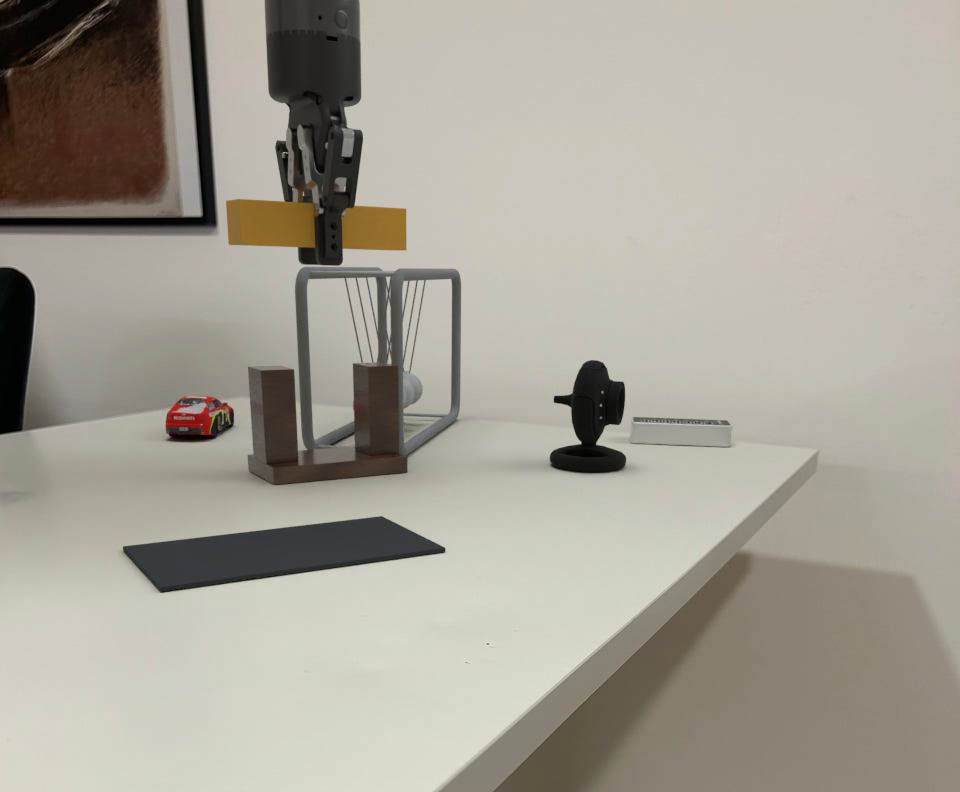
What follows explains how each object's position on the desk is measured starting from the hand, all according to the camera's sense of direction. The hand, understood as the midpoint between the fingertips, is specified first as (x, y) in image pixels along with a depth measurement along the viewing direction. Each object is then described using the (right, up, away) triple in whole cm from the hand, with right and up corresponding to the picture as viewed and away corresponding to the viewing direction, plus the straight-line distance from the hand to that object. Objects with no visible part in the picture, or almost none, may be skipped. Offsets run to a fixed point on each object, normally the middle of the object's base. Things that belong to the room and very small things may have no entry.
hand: (320, 263), depth 85 cm
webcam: (+24, -16, +12) cm, 31 cm away
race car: (-18, -9, +26) cm, 33 cm away
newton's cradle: (+4, -9, +27) cm, 29 cm away
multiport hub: (+36, -10, +26) cm, 46 cm away
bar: (0, +1, 0) cm, 1 cm away
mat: (+1, -27, -19) cm, 33 cm away
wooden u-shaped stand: (0, -17, +6) cm, 18 cm away
